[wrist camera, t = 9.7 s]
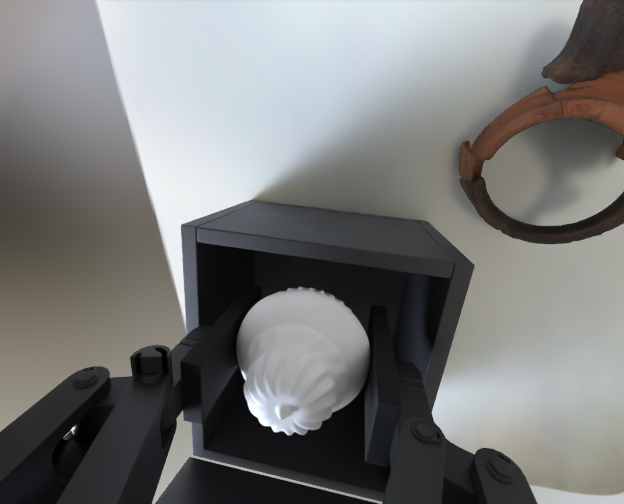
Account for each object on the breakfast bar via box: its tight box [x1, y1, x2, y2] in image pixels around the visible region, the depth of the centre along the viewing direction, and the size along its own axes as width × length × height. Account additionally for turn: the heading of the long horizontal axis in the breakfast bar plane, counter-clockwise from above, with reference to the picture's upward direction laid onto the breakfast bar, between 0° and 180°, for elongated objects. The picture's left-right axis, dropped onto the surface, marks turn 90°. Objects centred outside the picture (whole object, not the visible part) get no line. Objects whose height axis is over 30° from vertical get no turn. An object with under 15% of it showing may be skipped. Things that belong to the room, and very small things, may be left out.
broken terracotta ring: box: [459, 0, 624, 244], centre depth 16 cm, size 12×10×8 cm
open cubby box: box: [181, 200, 474, 502], centre depth 20 cm, size 16×14×9 cm
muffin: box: [236, 287, 371, 435], centre depth 13 cm, size 6×6×7 cm
